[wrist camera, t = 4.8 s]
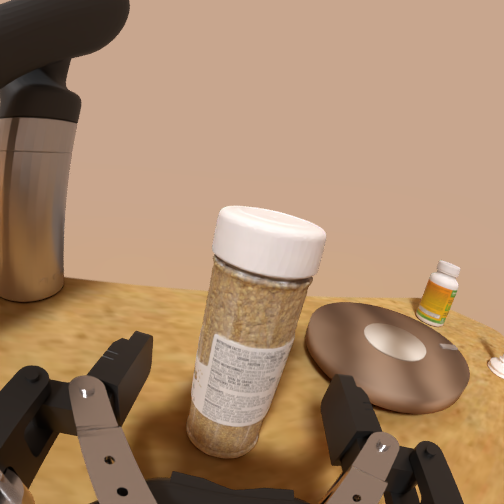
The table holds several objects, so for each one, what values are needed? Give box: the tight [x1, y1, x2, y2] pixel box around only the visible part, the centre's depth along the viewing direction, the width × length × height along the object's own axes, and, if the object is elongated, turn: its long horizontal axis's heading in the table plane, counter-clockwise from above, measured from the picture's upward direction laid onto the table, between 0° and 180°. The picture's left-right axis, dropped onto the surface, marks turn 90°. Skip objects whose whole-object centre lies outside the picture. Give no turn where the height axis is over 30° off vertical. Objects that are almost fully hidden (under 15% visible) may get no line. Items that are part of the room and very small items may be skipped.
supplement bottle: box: [416, 260, 460, 327], centre depth 39 cm, size 5×5×10 cm
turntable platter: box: [305, 302, 470, 414], centre depth 26 cm, size 18×18×2 cm
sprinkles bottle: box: [186, 206, 326, 458], centre depth 14 cm, size 5×4×14 cm
